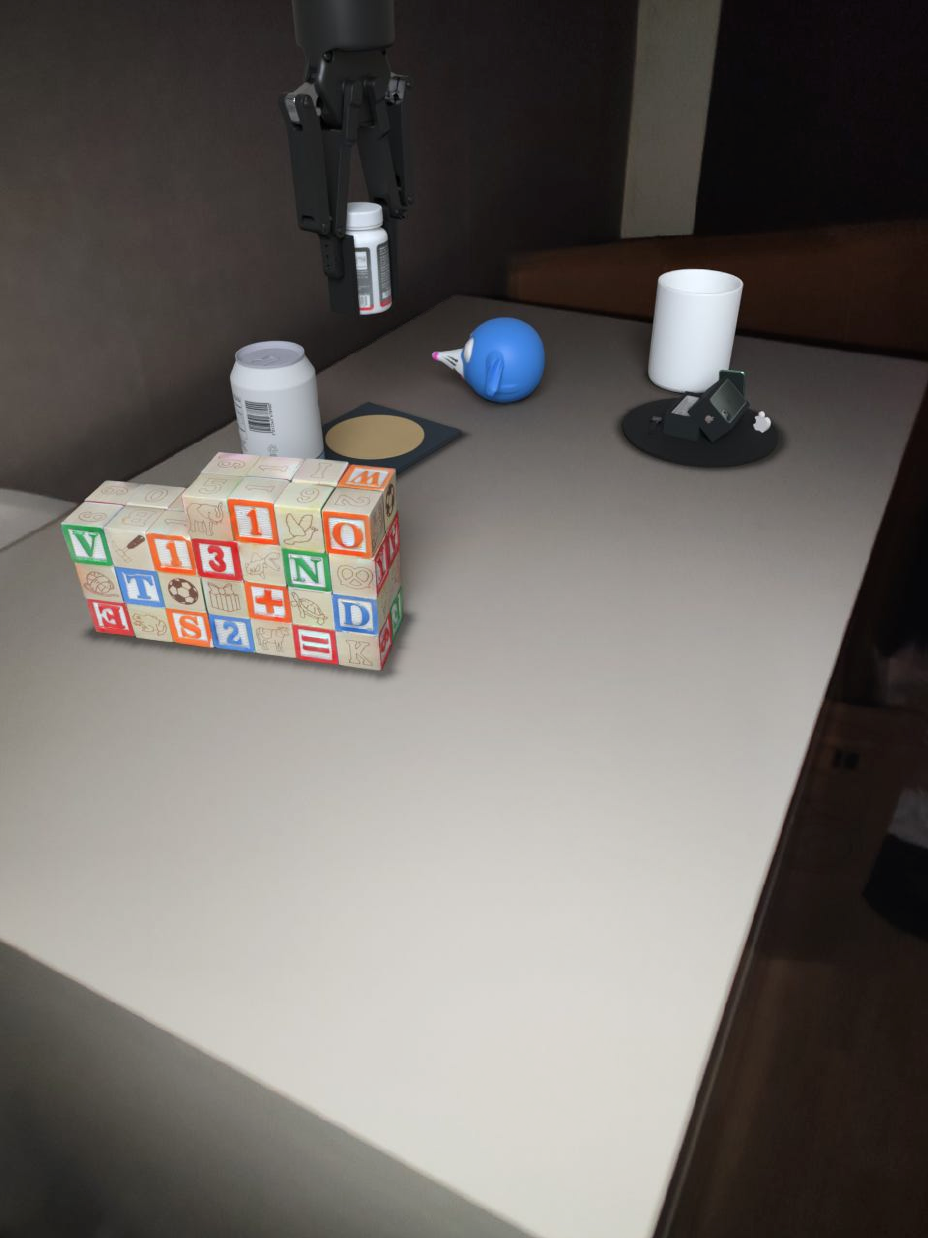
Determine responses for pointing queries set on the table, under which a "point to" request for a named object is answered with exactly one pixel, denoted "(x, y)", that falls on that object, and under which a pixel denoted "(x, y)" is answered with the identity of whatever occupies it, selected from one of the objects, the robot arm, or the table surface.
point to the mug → (693, 328)
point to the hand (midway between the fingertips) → (365, 303)
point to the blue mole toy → (499, 360)
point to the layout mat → (383, 437)
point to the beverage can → (277, 401)
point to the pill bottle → (370, 256)
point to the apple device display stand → (703, 426)
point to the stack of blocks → (248, 559)
